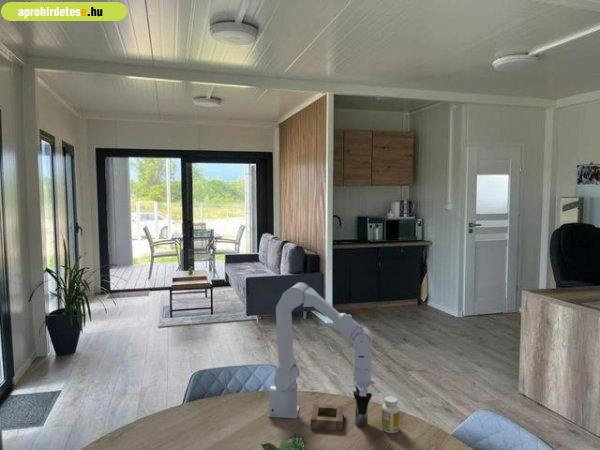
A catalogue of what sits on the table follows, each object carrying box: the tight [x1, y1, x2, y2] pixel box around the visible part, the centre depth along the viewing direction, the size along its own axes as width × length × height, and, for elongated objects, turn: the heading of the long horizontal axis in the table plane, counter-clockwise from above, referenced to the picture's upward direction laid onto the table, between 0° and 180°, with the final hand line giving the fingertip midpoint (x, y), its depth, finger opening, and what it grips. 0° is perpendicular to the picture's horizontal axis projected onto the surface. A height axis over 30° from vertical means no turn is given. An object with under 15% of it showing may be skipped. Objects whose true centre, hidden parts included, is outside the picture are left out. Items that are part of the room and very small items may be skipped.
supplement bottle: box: [381, 395, 401, 434], centre depth 134 cm, size 5×5×10 cm
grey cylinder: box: [354, 398, 369, 428], centre depth 137 cm, size 4×4×8 cm
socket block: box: [310, 403, 344, 432], centre depth 139 cm, size 10×10×3 cm
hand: (361, 408), depth 137 cm, fingers open, 7 cm apart
